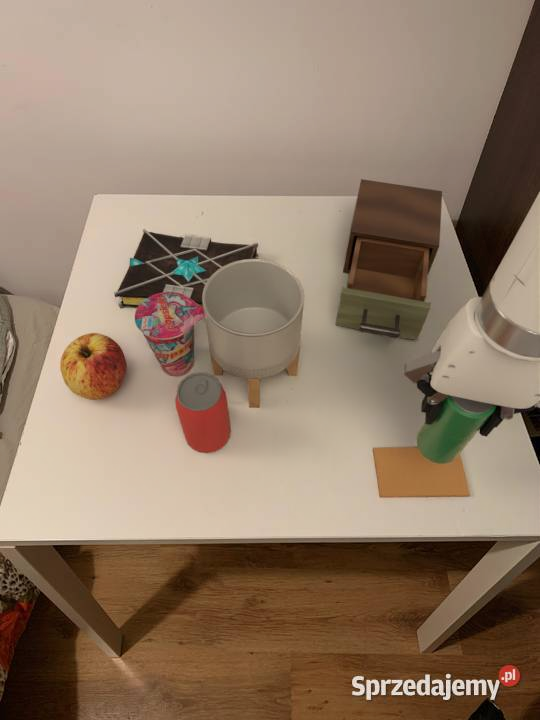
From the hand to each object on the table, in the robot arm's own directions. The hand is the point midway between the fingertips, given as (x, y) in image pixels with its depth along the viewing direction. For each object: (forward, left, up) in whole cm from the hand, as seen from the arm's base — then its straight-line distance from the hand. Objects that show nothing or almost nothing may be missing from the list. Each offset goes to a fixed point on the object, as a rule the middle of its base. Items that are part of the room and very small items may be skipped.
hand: (455, 417), depth 54 cm
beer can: (+30, +1, -16) cm, 34 cm away
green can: (0, 0, -7) cm, 7 cm away
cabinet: (+8, -43, -16) cm, 46 cm away
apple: (+48, -3, -16) cm, 51 cm away
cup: (+38, -10, -16) cm, 42 cm away
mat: (0, 0, -16) cm, 16 cm away
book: (+42, -27, -16) cm, 52 cm away
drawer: (+8, -27, -15) cm, 32 cm away
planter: (+26, -11, -16) cm, 32 cm away
